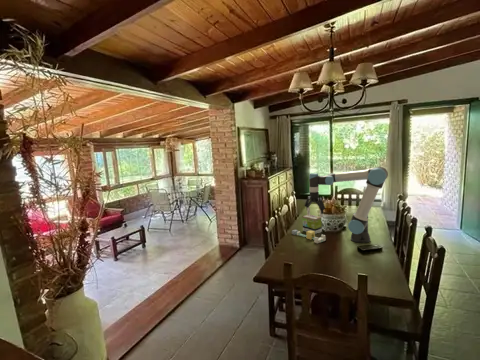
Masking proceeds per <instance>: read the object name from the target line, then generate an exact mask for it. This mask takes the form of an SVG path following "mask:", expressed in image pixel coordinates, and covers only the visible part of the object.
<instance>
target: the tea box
mask: <svg viewBox="0 0 480 360" xmlns="http://www.w3.org/2000/svg"><path fill="white" fill-rule="evenodd" d="M322 219H323V217H321V218H320V215H319V216H318V215H314V214H313V215H312V214H310V215H307V214H305V215H303V216H302V231H303V232H305V233H306V232H307V231H310V230H311V231H314V232H315V235H317V233H318V234H320V233H322V232H323V229H322V224H323V223H322Z"/></svg>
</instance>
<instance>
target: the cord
mask: <svg viewBox="0 0 480 360" xmlns="http://www.w3.org/2000/svg"><path fill="white" fill-rule="evenodd" d="M296 236H300V237H303V238H305V237H306V239H307V236H306V234H303V233H299V235H297V233H296ZM312 239H313V240H312V241H314V237H312ZM322 242H324V241H323V240H321V242H320V243H322Z"/></svg>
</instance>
